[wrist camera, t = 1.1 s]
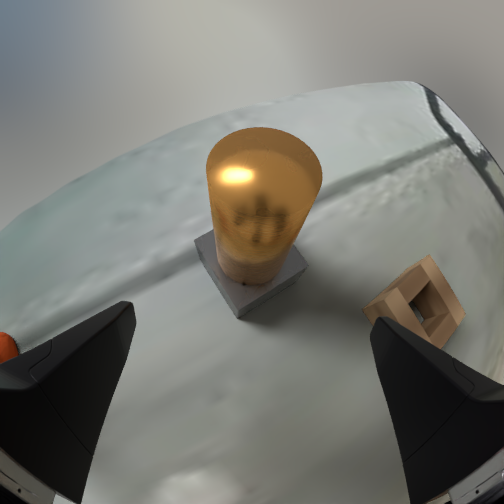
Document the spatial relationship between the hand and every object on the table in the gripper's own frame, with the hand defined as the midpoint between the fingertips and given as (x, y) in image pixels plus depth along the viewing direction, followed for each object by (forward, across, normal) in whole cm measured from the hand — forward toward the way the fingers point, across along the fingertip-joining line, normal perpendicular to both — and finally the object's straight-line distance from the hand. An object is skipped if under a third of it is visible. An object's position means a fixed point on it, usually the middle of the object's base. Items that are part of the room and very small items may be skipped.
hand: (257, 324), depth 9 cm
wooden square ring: (+11, -15, +7) cm, 20 cm away
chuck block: (+13, 0, +5) cm, 14 cm away
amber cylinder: (+13, 0, +4) cm, 14 cm away
